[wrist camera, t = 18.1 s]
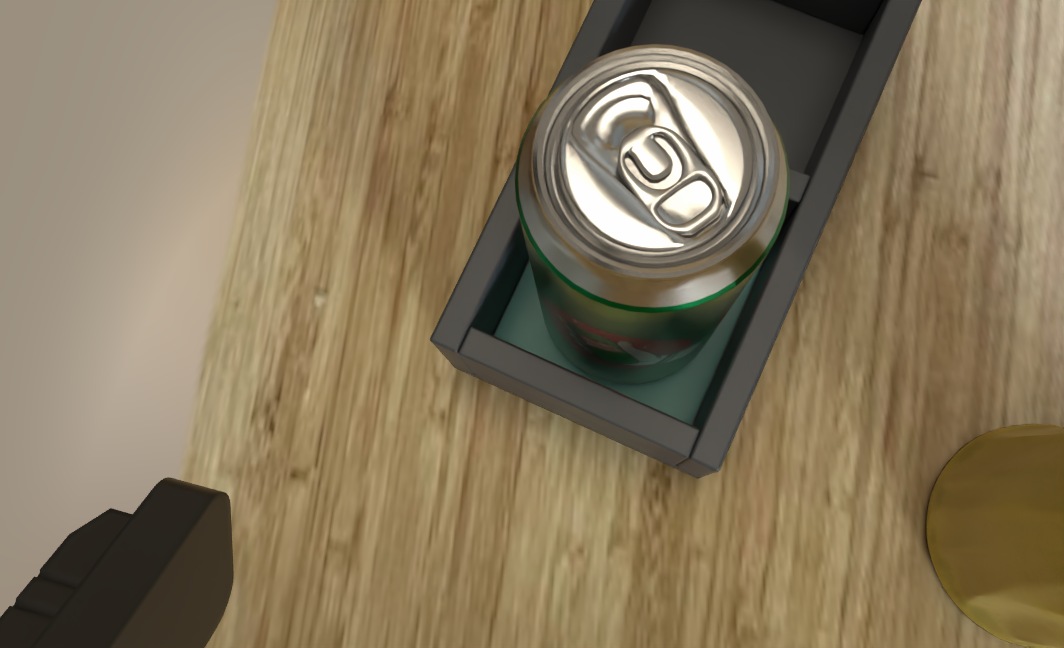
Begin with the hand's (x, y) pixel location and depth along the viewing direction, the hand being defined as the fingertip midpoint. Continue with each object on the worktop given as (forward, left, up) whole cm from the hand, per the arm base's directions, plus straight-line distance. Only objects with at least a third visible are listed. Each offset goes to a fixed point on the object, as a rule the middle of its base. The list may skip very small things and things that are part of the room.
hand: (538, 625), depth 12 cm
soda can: (-1, +7, -17) cm, 18 cm away
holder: (-1, +11, -17) cm, 21 cm away
